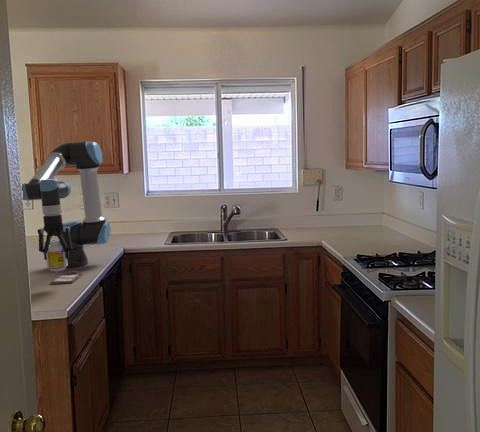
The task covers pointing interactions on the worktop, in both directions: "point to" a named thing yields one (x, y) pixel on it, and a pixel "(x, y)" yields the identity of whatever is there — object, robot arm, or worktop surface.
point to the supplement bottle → (56, 256)
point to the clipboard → (67, 278)
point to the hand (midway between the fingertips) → (57, 266)
